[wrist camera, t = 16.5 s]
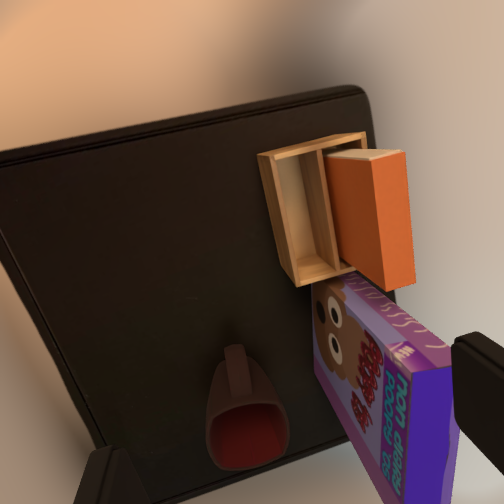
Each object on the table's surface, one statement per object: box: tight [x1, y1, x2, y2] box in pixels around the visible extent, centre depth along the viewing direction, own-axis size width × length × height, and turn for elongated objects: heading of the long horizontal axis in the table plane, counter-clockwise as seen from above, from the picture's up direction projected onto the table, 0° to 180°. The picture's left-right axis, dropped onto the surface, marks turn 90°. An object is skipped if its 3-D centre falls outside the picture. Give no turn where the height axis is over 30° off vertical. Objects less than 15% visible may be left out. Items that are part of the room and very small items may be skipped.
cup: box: [206, 344, 290, 471], centre depth 45 cm, size 10×14×12 cm
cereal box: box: [311, 271, 460, 504], centre depth 40 cm, size 17×5×24 cm, turn 5°
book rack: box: [256, 132, 367, 287], centre depth 42 cm, size 11×15×8 cm
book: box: [322, 149, 416, 292], centre depth 37 cm, size 3×12×16 cm, turn 13°
